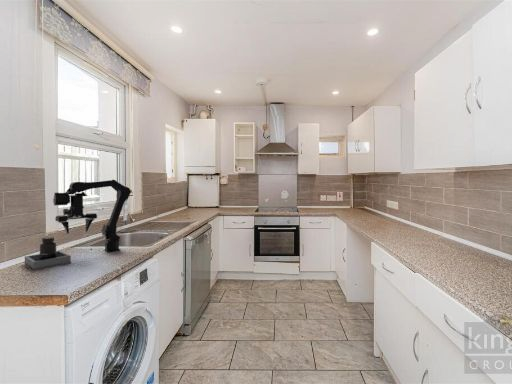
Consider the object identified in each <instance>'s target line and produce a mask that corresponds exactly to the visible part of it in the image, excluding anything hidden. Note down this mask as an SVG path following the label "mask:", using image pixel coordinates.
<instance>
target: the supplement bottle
mask: <svg viewBox="0 0 512 384" xmlns="http://www.w3.org/2000/svg"><path fill="white" fill-rule="evenodd" d="M41 239H42V240H41V243H40V245H39V254H40V260H46V259H51V258H56V251H57V242H55V237H54V236H45V237H42V238H41Z"/></svg>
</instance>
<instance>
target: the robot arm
mask: <svg viewBox="0 0 512 384" xmlns="http://www.w3.org/2000/svg"><path fill="white" fill-rule="evenodd" d="M68 186H69V188H68V189H67V190H66V191H65V192H54V193H53V194H54V195H53V200H52V201H53V205H54V206H68V204H70V206H69V208H63V210H62V212H63V215H61V214H60V215H56V216H55V222H58V223H60V224H61V225H62V226H63V228H64V230H65V232H66V234H67V235H69V233H70V232H69V231H70V229H69V225H70V224H69V220H77V219H84V220H85V228H84V229H85V232H88V230H89V228H90V227H91V224H92V223H93V221H95V219H98V215H97V213H94V212H89V213H88V212H87V213H84V208H85V206H84V197H87V196H88V194H87V193H85V191H88V190H91V189H100V188H108V187H111V188H112V189H113V190H114V191H116V201H115V204H114V207H113V208H112V211H111V215H110V217H109V219H108V222H107V223H106V224H103V225H102V229H101V235H102V237H104V239H105V243H104V247H105V248H104V251H105V252H109V253H111V252H116V251H120V250H121V248H120V238H121V237H120V236H119V235H118V234H117V223H118V221H119V218H120V215H121V213H122V210H123V208H124V207H123V206H124V204H125V202H126V201H127V200H128V199H129V198H130V195H131V192H132V190H131V188H130V187H128V186H125V185H123V184H122V183H120V182H118V181H117V180H116V179H108V180H97V181H91V182H90V181H88V182H87V181H73V182H71V183H70V184H69V185H68Z"/></svg>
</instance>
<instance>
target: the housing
mask: <svg viewBox="0 0 512 384" xmlns="http://www.w3.org/2000/svg"><path fill="white" fill-rule="evenodd" d="M71 256H72V255H70V254H69V253H66V252H64V251H61V250H56V258H51V259H46V260H40V253H38V254H32V255H31V254H30V255H25V256H24V265H25V266H26V267H28V268H29V269H31V270H32V271H39V270H44V269H48V268H54V267H55V268H56V267H59V266H64V265H69V264H71V263H72V261H71Z"/></svg>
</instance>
